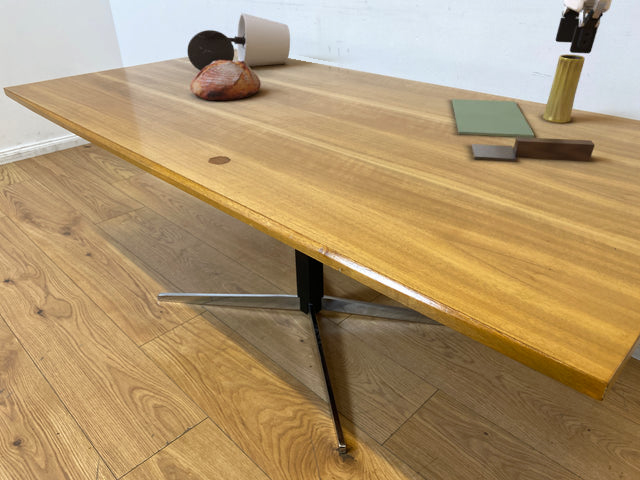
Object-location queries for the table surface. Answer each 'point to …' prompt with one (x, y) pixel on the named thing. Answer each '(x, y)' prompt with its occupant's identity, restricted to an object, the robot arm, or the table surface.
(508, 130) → the mat
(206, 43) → the light fixture
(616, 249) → the table surface
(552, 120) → the vase
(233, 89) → the bread
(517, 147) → the spatula
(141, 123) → the table surface
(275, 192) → the table surface
